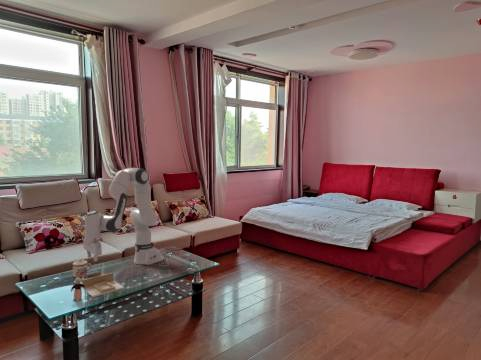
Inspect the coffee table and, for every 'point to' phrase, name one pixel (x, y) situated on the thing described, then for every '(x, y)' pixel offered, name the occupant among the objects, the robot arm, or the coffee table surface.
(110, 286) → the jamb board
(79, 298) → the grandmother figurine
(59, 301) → the coffee table surface
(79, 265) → the teacup with lid
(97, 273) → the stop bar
